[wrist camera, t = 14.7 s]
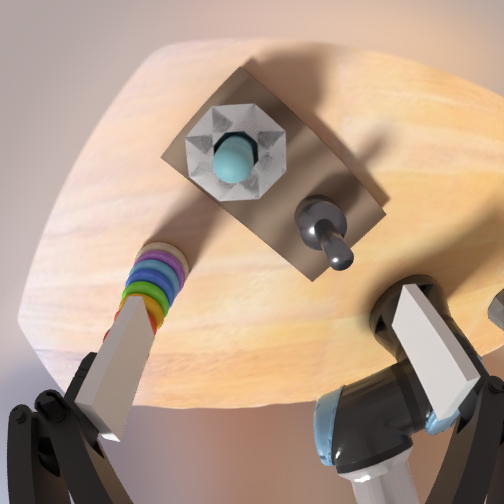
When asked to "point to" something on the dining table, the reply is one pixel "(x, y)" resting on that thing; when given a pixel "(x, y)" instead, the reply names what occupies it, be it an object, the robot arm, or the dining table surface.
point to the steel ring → (265, 162)
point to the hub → (234, 156)
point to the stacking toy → (156, 280)
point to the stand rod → (324, 229)
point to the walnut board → (287, 179)
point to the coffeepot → (497, 310)
